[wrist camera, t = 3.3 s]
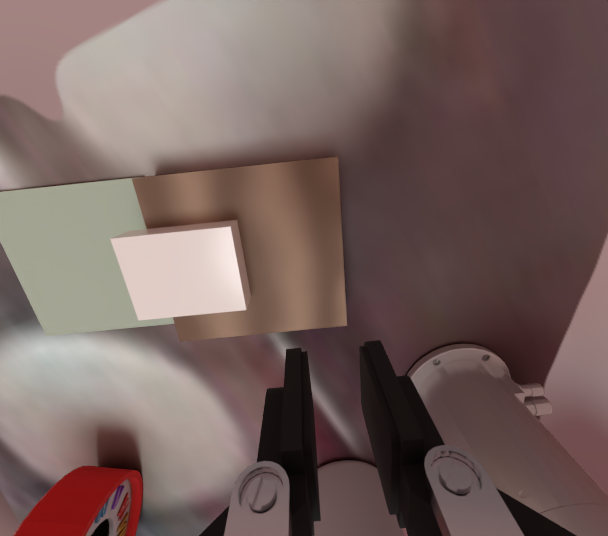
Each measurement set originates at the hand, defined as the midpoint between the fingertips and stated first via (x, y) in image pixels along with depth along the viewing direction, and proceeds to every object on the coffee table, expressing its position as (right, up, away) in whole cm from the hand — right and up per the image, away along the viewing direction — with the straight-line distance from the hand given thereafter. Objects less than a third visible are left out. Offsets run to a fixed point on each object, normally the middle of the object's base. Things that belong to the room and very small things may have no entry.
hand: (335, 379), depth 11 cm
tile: (-11, +4, +13) cm, 17 cm away
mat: (-22, +5, +18) cm, 29 cm away
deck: (-6, +6, +18) cm, 20 cm away
